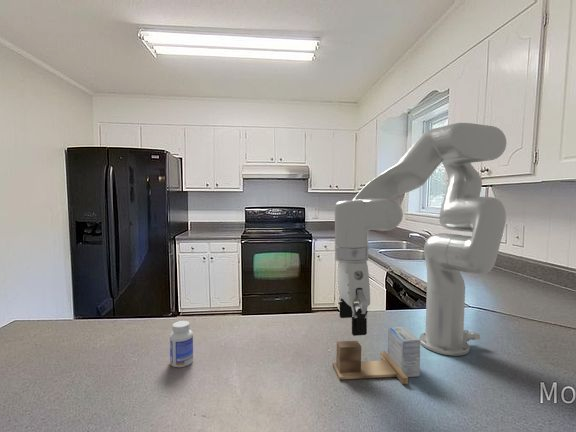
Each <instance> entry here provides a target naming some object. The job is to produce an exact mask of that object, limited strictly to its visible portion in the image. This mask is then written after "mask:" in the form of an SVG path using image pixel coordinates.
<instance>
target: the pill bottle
mask: <svg viewBox="0 0 576 432" xmlns="http://www.w3.org/2000/svg"><path fill="white" fill-rule="evenodd" d="M190 327H191V325H190V322H189V321H187V320H180V321H179V320H178V321H176V322H174V323H173V324H172V327H171V328H172V332H171V333H170V335H169V364H170V366H172V367H174V368H184V367H187V366H190V365H191V364H192V363H193V362H194V333H193V330H191V329H190Z"/></svg>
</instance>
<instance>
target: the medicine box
mask: <svg viewBox="0 0 576 432" xmlns="http://www.w3.org/2000/svg"><path fill="white" fill-rule="evenodd" d="M387 329H388V330H387V334H388V335H387V354H388V355H389V357H390V358H391V359H392V360H393V361H394V362H395V363H396V365H397V366H398V367H399V368H400V369H401V370H402V371H403V373H404V374H405V375H406V376H407V377H408V378H413V377H414V378H416V377H417V378H418V377H420V376H421V343H420V340H419V338H418V337H416V336H415V335H414V334H413V333H412V332H411V331H410V330H409V329H407V328H406V327H404V326H402V327H401V326H396V327H388V328H387Z"/></svg>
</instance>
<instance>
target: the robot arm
mask: <svg viewBox="0 0 576 432" xmlns="http://www.w3.org/2000/svg"><path fill="white" fill-rule="evenodd" d="M506 148H507V136H506V135H505V133H504V131H502V130H501V129H500V128H498V127H497V126H492V125H488V124H487V125H486V124H478V123H472V122H456V123H451V124H448V125H443V126H440V127H435V128H432V129H429V130H426V131H424V132H423V133H422V134H420V136H419V137H418V138H417V139H416V140H415V141H414V142H413V143H412V144H411V146H410V147H409V148H408V149H407V151H406V152H405V153H404V154H403V155H402V157H401V158H400V159H399V160H398V161H397V163H395V164H394V165H393V166H391V167H389V168H388V169H386V170H385V171H384V172H381V174H378V175H377V176H376V177H374V178H373V179H371V180H370V181H369V182H368V183H366V184H365V186H363V187H362V188H361V189H360V191H358V193H357V194H356V195H355V196H354V197H353V199H349V200H346V199H345V200H340V201H337V202H336V203H335V205H334V246H335V247H334V252H335V257H334V260H335V261H336V262H338V265H337V266H338V268H337V289H338V291H337V292H338V294H339V299H338V300H339V302H338V303H339V318H340V319H347V318H349V319H350V318H351V334H352V336H354V337H356V336H358V337H359V336H366V335H367V331H368V330H367V328H368V325H367V324H368V321H367V319H368V307H369V306H370V305H371V292H370V291H371V288H370V274H369V268H368V262H369V231H371V230H372V231H382V232H383V231H385V232H386V231H391V230H394V229H395V228H397V227H398V226H399V225H400V224H401V222H402V220H403V216H404V211H403V209H402V207H401V205H400V204H399V203H398V202H397V201H395V200H393V199H394V198H395V197H398V196H400V195H403V194H406V193H409V192H413V191H415V190H416V189H418V188H420V187H422V186H423V185H424V184H426V182H427V181H428V180H429V178H430V177H431V176H432V174H433V173H434V172H435V171H436V170H437V169H438V167H439V166H440V165H441V163H442V165H443V167H444V170H445V171H446V175H447V184H446V185H447V186H446V190H445V194H444V197H443V201H442V204H441V208H440V211H439V223H440V225H441V227H443V228H444V229H447V230H451V231H456V232H457V231H458V232H464V233H465V232H466V233H468V232H469V233H472V234H471V235H463V234H455V233H445V232H444V233H443V232H442V233H441V232H440V233H434V234H432V235H430V236H429V237H428V238H427V239H426V241H425V242H424V246H423V254H424V260H425V266H426V299H425V300H426V302H425V303H426V304H425V305H426V306H425V332H423V333H421V334H420V335H419V338H418V339H419V340H420V345H422V347H424V348H426V350H427V349H428V350H430V351H432V352H434V353H437V354H440V355H445V356H453V357H458V356H465V355H467V354H468V353H469V352H470V344H469V343H468V342H470V341H471V340H472V341H478V340H480V339H481V337H480V334H479V332H469V330H467V329H465V303H466V302H465V301H466V283H465V279H464V278H463V275H462V273H467V274H471V275H477V276H479V275H480V276H482V275H487V274H488V273H490V272H491V271H492V269H493V268H494V266H495V264H496V261H497V257H498V254H499V249H500V246H501V243H502V238H503V234H504V230H505V227H506V221H507V213H506V208H505V205H504V204H503V202H502V201H501V200H499V199H498V198H496V197H492V196H480V195H481V191H482V188H483V181H482V180H483V179H482V178H481V175H480V174H479V172H478V171H477V170H476V168H475V167H474V166H473V165H472V163H473V164H474V163H480V162H489V161H494V160H496V159H499V158H500V157H501V156H502V155H503V154H504V152H505V150H506ZM461 272H462V273H461Z"/></svg>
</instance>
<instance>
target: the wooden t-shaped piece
mask: <svg viewBox="0 0 576 432" xmlns="http://www.w3.org/2000/svg"><path fill="white" fill-rule="evenodd" d="M379 357H380V359H382V360H369V361H364V360H363V361H362V346H361V344H360V343H359V341H358V340H346V341H345V340H342V341H341V340H340V341H336V362H332V367H333V369H334V371H335V373H336V376H337V377H338V380H356V379H358V380H359V379H373V378H374V379H376V378H394V377H396V378H397V379H398V380H399V382H400V383H401V384H402V385H408V384H409V377H407V376H406V375H405V374H404V373H403V371H402V370H401V369H400V368H399V367H398V366H397V365H396V363H395V362H394V361H393V360H392V359H391V358H390V357H389V355H388V352H386V351H383V350H382V351H380V356H379Z"/></svg>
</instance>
